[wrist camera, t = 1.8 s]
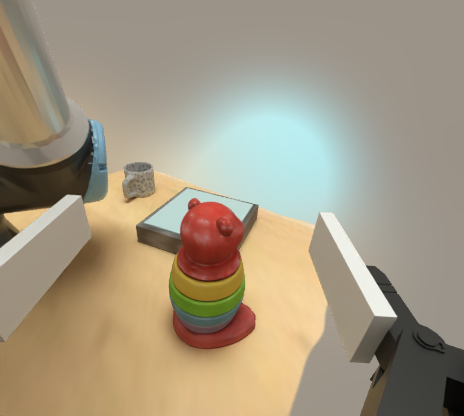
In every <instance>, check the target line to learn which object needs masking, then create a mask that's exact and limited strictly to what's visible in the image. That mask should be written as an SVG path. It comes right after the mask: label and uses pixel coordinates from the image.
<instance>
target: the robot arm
mask: <svg viewBox="0 0 464 416" xmlns="http://www.w3.org/2000/svg"><path fill="white" fill-rule="evenodd" d="M106 165H107V162H106V147H105V138H104V131H103V127H102V124H101V123H100V122H98V121H93V120H91V119H87V117H86V115H85V113H84V111H83V110H82V109H81V107H80V106H78V105H77V104H76V103H75V102H73V101H72V100H70V99H69V98H67V97H65V94H64V90H63V88H62V85H61V82H60V79H59V76H58V73H57V70H56V67H55V64H54V61H53V58H52V55H51V52H50V49H49V46H48V43H47V40H46V37H45V34H44V31H43V28H42V26H41V22H40V19H39V16H38V13H37V10H36V8H35V4H34V2H33V0H0V342H6V340H7V339H8V338H9V337H10V335H11V334H12V333H13V332H14V331H15V329H16V328H17V327H18V326H19V324H20V323H21V322H22V321H23V320H24V318H25V317H26V316H27V315H28V314H29V312H30V311H31V310H32V309H33V307H34V306H35V305H36V304H37V303H38V301H39V300H40V299H41V298H42V296H43V295H44V294H45V293H46V292H47V290H48V289H49V288H50V287H51V285H52V284H53V283H54V282H55V281H56V279H57V278H58V277H59V276H60V275H61V273H62V272H63V271H64V270H65V268H66V267H67V266H68V265H69V264H70V262H71V261H72V260H73V259H74V257H75V256H76V255H77V254H78V253H79V251H80V250H81V249H82V248H83V247H84V245H85V244H86V243H87V242H88V240H89V239H90V238H91V237H92V235H91V231H90V227H89V223H88V219H87V216H86V212H85V208H84V204H85V203H91V202H96V201H100V200H102V199H104V198H105V196H106V195H107V192H108V174H107V167H106ZM45 208H50V209H49V210H47V211H46V212H45V213H44V214H42V215H41V216H40V217H39V218H37V219H36V220H35V221H34V222H32V223H31V224H30V225H29V226H27V227H26V228H25V229H24V230H22V231H21V232H20V231H19V230H18V229H17V228H16V227H14V226H13V225H12V224H11V223H10V222H9V221H8V220H7V219H6V218H5V217H4V214H5V213H13V212H21V211H29V210H37V209H45ZM309 253H310V256H311V259H312V261H313V264H314V267H315V270H316V272H317V275H318V278H319V280H320V283H321V286H322V289H323V291H324V294H325V297H326V299H327V302H328V305H329V307H330V310H331V313H332V315H333V318H334V321H335V324H336V326H337V329H338V332H339V334H340V337H341V340H342V342H343V345H344V348H345V351H346V353H347V356H348V358H349V361H350V362H358V363H370V361H371V360H372V358H373V356H374V355H376V357H377V360H378V362H379V364H380V365H379V367H378V368H377V370H376V371H375V373H374V374H373V376H372V377H371V379H370V380H371V381H372V384H371V387H370V389H369V392H368V395H367V398H366V400H365V403H364V406H363V409H362V411H361V415H360V416H464V350H462V349H459V348H456V347H453V346H450V345H447V344H445V342H444V340H443V339H442V338H441V337H440V336H439V335H438V334H437V333H435V332H433V331H432V330H431V329H429V328H428V327H425V326H422V325H420V324H419V323H418V322H417V321H416V319H415V318H414V316H413V315H412V313H411V312H410V310H409V309H408V307H407V306H406V305H405V303H404V302H403V300H402V299H401V297H400V296H399V294H397V291H396V290H395V289H394V287H393V286H391V283H390V281H389V280H388V279H387V277H386V275H385V274H384V273H383V272H381V271H380V270H379V269H378V268H377V267H375V266H365V264H364V262H363V261H362V260H361V257H360V256H359V254H358V253H357V251H356V249H355V248H354V246H353V245H352V243H351V241H350V240H349V238H348V237H347V235H346V233H345V232H344V230H343V228H342V227H341V225H340V224H339V222H338V220H337V219H336V217H335V215H334V214H333V213H325V212H319V215H318V219H317V222H316V226H315V229H314V233H313V236H312V240H311V243H310V247H309Z"/></svg>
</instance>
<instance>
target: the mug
mask: <svg viewBox="0 0 464 416" xmlns="http://www.w3.org/2000/svg"><path fill="white" fill-rule="evenodd" d="M124 173H125V180H124V181H123V193H124V196H125V198H127V199H128V198H131V197H135V198H144V197H148V196H151V195H152V194H154V193H155V184H154V173H153V166H152V165H151V164H149V163H145V162H135V163H130V164H127V165H126V166H125V167H124Z"/></svg>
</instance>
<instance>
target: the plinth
mask: <svg viewBox="0 0 464 416" xmlns="http://www.w3.org/2000/svg"><path fill="white" fill-rule="evenodd" d="M193 198H197V199H198V200H199V201H200V202H201V203H203V202H218V203H221V204H223V205H225V206H226V207H228V208H229V209H231V210H232V211H233V213H234V214H235V215H236V216H237V217H238V218H239V219H240V220H241V221H242V223H243V225H244V236H243V238H242V241H241V243H240V244H239V246H238V247H237V248H238V250H239V249H240V247H241V245H242V243H243V242H244V240H245V238H246V236H247V235H248V233H249V231H250V229H251V228H252V226H253V224H254V222H255V221H256V219H257V213H258V205H256V204H252V203H248V202H244V201H240V200H236V199H232V198H228V197H224V196H220V195H216V194H212V193H208V192H204V191H200V190H196V189H192V188H188V187H186V188H184V189H183V190H182V191H181V192H179V193H178V194H177V195H175V196H174V197H173V198H171V199H170V200H169V201H167V202H166V203H165V204H164V205H162V206H161V207H160V208H158V209H157V210H156V211H154V212H153V213H152V214H151V215H149V216H148V217H147V218H145V219H144V220H143V221H141V222H140V223H139V224H138V225H136V230H137V236H138V242H141V243H144V244H147V245H150V246H153V247H156V248H159V249H162V250H165V251H168V252H171V253H174V254H177V253H178V251H179V249H180V248H181V246H182V245H183V244H182V241H181V236H180V226H181V222H182V219H183V217H184V216H185V214H186V213H187V212H188V203H189V201H190V200H191V199H193Z"/></svg>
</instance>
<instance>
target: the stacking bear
mask: <svg viewBox="0 0 464 416" xmlns="http://www.w3.org/2000/svg"><path fill="white" fill-rule="evenodd" d="M180 236H181V241H182V244H183V245H182V246H181V248H180V249H179V251H178V253H177V255H176V256H175V259H174V262H173V265H172V270H171V274H170V280H169V294H170V299H171V303H172V306H173V308H174V314H173V324H174V328H175V330H176V333H177V334H178V336H179V337H180V338H181V339H182V340H183V341H185V342H186V343H188V344H190V345H192V346H195V347H198V348H215V347H221V346H225V345H229V344H232V343H234V342H236V341H238V340H240V339H242V338H244V337H245V336H246V335H248V334H249V333H250V332H251V331H252V330H253V329H254V327H255V314H254V312H253V311H251V309H250V308H249V307H248V306H246V305H244V304H243V303H241V302H242V299H243V296H244V290H245V275H244V269H243V263H242V259H241V255H240V252H239V250H238V248H237V247H238V246H239V244H240V243H241V241H242V238H243V236H244V225H243V223H242V221H241V220H240V219H239V218H238V217H237V216H236V215H235V214H234V213H233V211H232V210H231V209H229V208H228V207H226V206H225V205H223V204H221V203H218V202H203V203H201V202H200V201H199V200H198V199H197V198H193V199H191V200H190V201H189V203H188V212H187V213H186V214H185V216H184V217H183V219H182V222H181V226H180Z"/></svg>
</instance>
